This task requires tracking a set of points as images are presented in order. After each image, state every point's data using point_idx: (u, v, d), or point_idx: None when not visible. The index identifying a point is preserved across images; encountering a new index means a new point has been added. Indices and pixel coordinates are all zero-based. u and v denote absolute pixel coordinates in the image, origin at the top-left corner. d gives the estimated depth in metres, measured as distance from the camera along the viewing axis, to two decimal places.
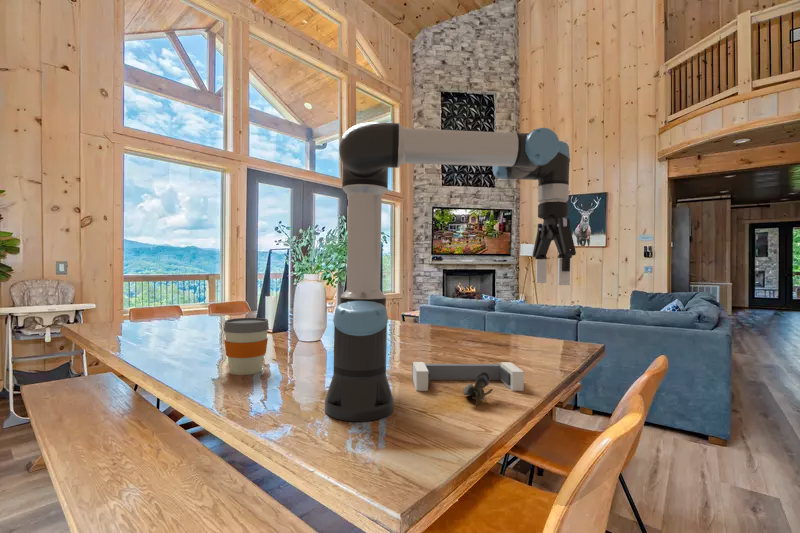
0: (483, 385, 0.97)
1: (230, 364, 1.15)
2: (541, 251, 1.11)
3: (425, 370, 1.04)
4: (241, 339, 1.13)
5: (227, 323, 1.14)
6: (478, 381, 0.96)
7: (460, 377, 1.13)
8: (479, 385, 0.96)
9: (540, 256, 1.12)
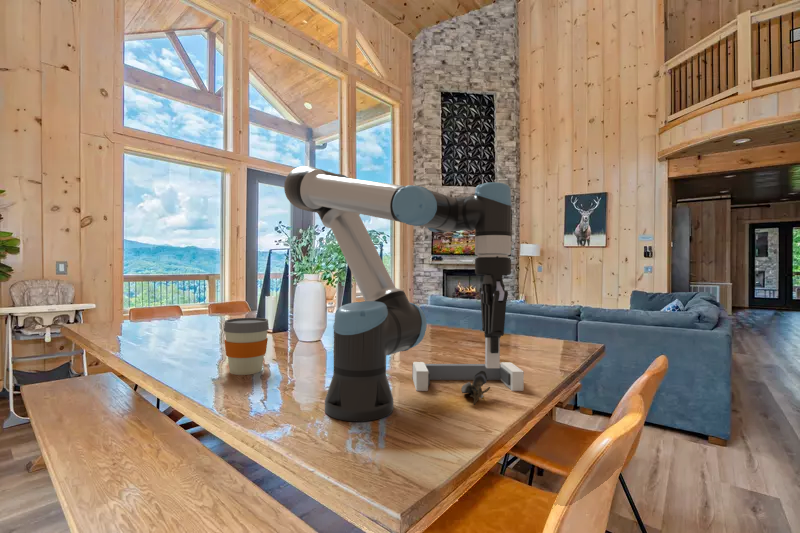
0: (481, 383, 0.98)
1: (230, 364, 1.15)
2: None
3: (425, 370, 1.04)
4: (241, 339, 1.13)
5: (227, 323, 1.14)
6: (476, 379, 0.98)
7: (460, 377, 1.13)
8: (477, 383, 0.98)
9: None
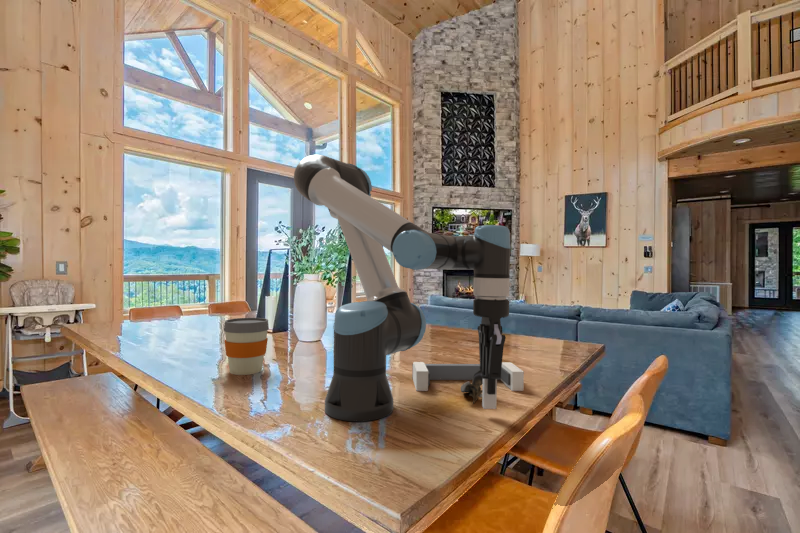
0: (480, 383, 0.99)
1: (230, 364, 1.15)
2: None
3: (425, 370, 1.04)
4: (241, 339, 1.13)
5: (227, 323, 1.14)
6: (475, 379, 0.98)
7: (460, 377, 1.13)
8: (476, 383, 0.98)
9: None
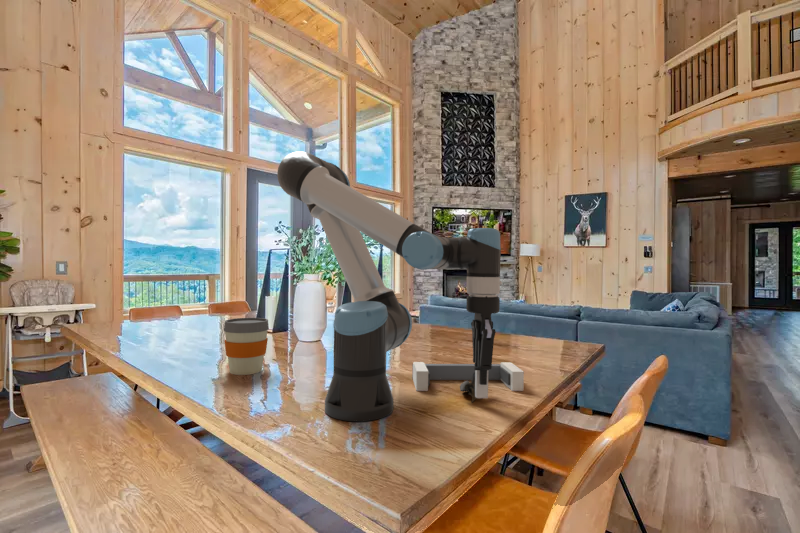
0: None
1: (230, 364, 1.15)
2: None
3: (425, 370, 1.04)
4: (241, 339, 1.13)
5: (227, 323, 1.14)
6: (474, 378, 0.99)
7: (460, 377, 1.13)
8: None
9: None
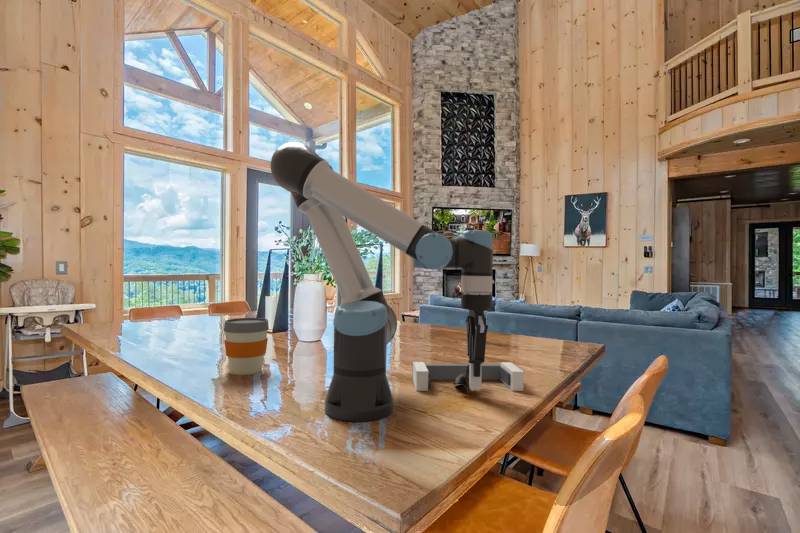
0: None
1: (230, 364, 1.15)
2: None
3: (425, 370, 1.04)
4: (241, 339, 1.13)
5: (227, 323, 1.14)
6: (467, 371, 1.05)
7: None
8: (468, 375, 1.05)
9: None
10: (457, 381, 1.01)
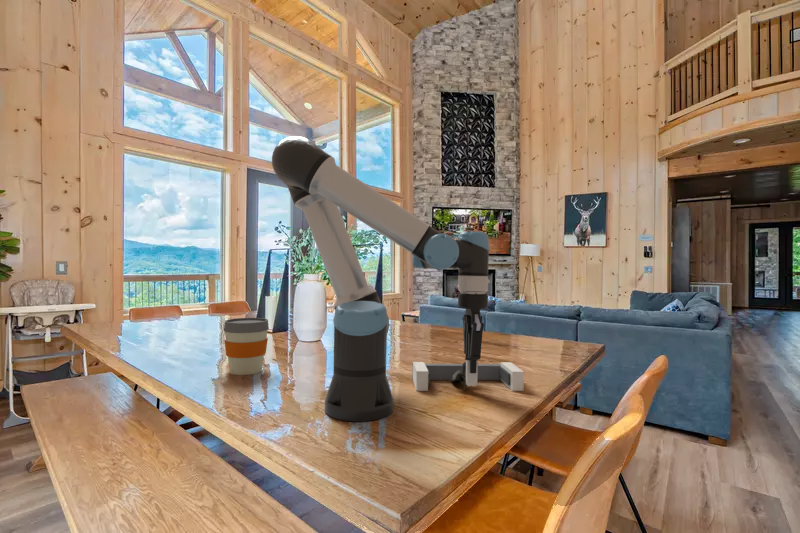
0: None
1: (230, 364, 1.15)
2: None
3: (425, 370, 1.04)
4: (241, 339, 1.13)
5: (227, 323, 1.14)
6: (463, 368, 1.08)
7: None
8: (464, 371, 1.08)
9: None
10: (454, 377, 1.05)
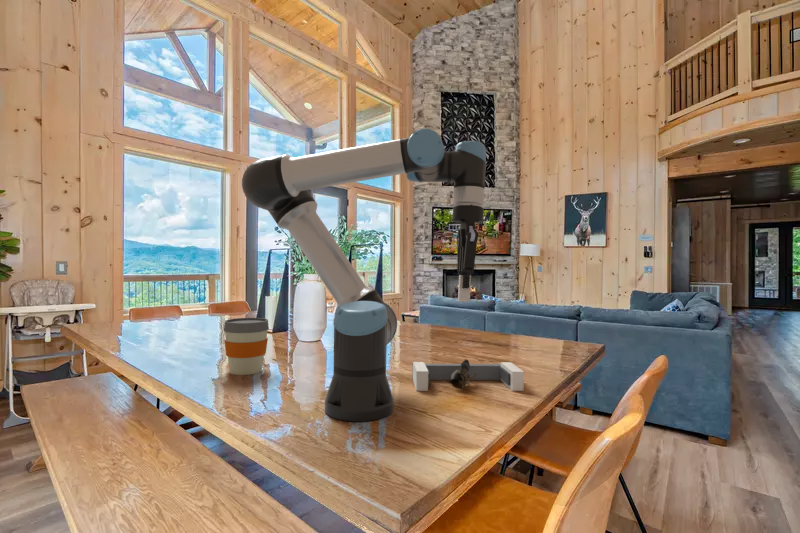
0: (465, 371, 1.10)
1: (230, 364, 1.15)
2: None
3: (425, 370, 1.04)
4: (241, 339, 1.13)
5: (227, 323, 1.14)
6: (462, 367, 1.09)
7: None
8: (463, 371, 1.09)
9: None
10: (452, 377, 1.05)
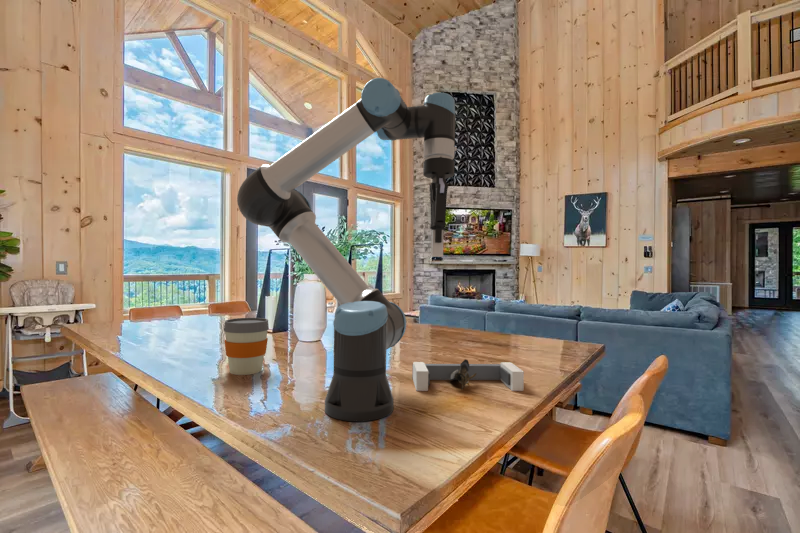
0: (465, 371, 1.10)
1: (230, 364, 1.15)
2: None
3: (425, 370, 1.04)
4: (241, 339, 1.13)
5: (227, 323, 1.14)
6: (461, 367, 1.09)
7: None
8: (462, 371, 1.09)
9: None
10: (452, 377, 1.05)
